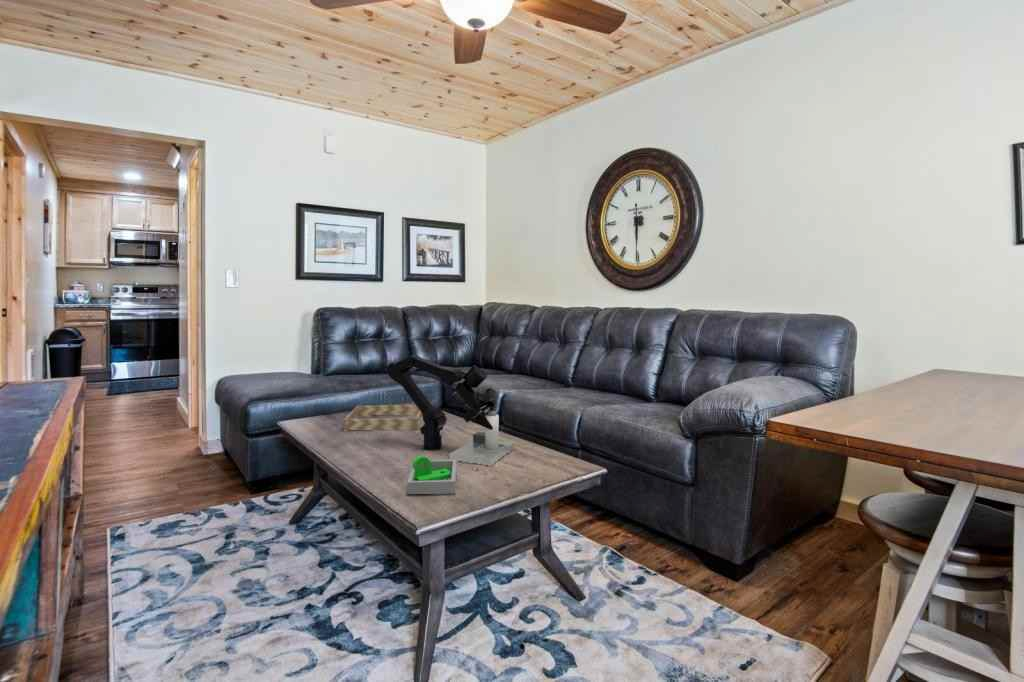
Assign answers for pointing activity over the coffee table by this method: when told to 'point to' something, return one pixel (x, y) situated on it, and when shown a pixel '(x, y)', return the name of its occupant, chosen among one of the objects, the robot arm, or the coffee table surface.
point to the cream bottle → (492, 431)
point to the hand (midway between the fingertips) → (495, 427)
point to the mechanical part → (428, 471)
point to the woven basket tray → (383, 424)
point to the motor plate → (481, 451)
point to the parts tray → (434, 485)
